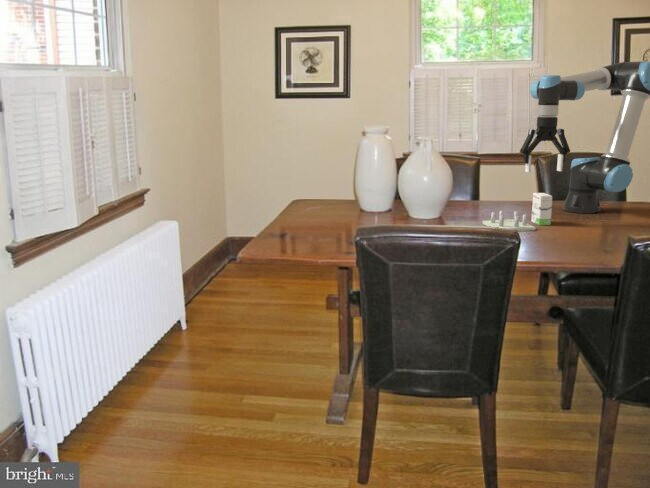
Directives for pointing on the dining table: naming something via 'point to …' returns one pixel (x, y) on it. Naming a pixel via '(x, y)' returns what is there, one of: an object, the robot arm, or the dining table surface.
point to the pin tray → (509, 222)
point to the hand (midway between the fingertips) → (543, 171)
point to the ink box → (541, 209)
